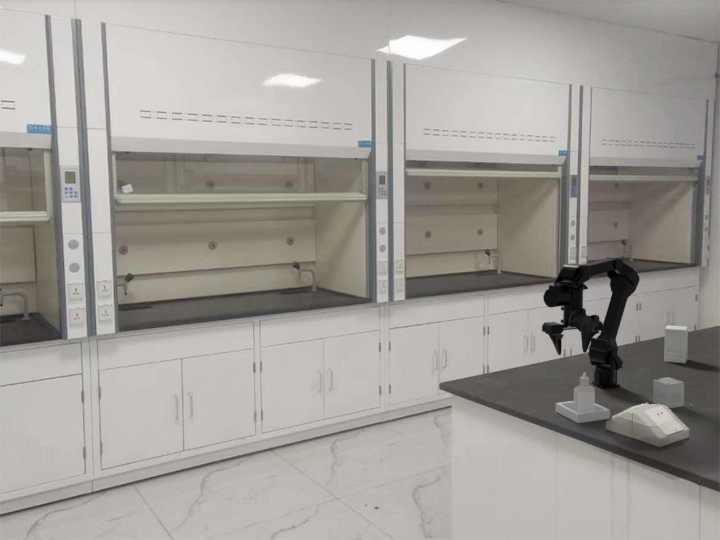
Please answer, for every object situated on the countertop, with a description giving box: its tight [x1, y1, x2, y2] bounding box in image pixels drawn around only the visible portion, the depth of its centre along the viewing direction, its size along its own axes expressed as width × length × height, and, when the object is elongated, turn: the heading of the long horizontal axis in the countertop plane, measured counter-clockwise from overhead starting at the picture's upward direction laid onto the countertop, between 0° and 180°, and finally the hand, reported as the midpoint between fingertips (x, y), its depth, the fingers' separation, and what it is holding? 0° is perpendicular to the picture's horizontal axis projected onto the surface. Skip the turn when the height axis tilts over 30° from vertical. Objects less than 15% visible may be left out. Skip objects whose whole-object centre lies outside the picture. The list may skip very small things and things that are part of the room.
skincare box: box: [652, 377, 685, 409], centre depth 188 cm, size 6×6×7 cm
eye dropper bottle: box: [573, 372, 596, 413], centre depth 181 cm, size 4×6×12 cm
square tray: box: [555, 400, 611, 424], centre depth 181 cm, size 10×10×2 cm
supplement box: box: [663, 324, 689, 364], centre depth 237 cm, size 7×7×13 cm
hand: (572, 353), depth 199 cm, fingers open, 9 cm apart
